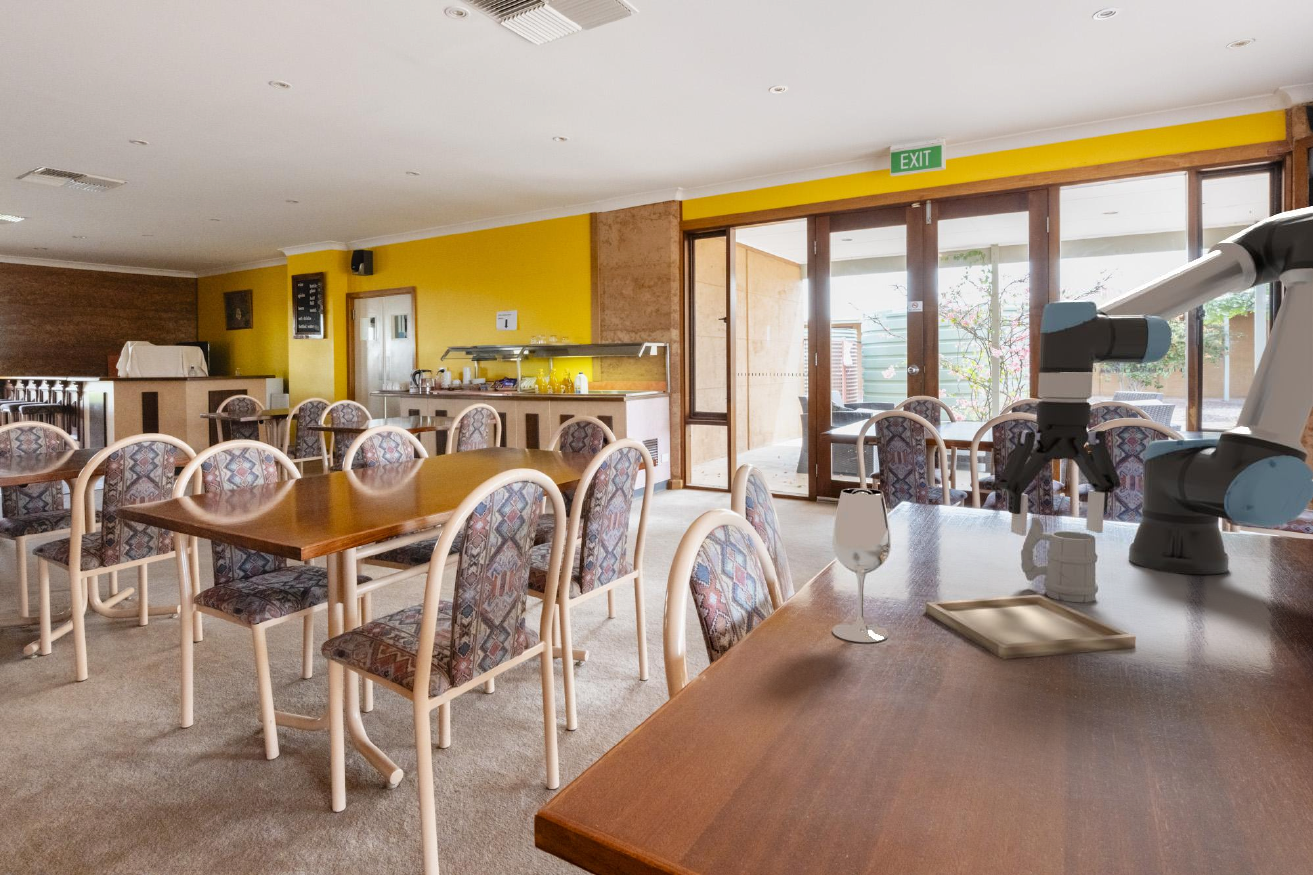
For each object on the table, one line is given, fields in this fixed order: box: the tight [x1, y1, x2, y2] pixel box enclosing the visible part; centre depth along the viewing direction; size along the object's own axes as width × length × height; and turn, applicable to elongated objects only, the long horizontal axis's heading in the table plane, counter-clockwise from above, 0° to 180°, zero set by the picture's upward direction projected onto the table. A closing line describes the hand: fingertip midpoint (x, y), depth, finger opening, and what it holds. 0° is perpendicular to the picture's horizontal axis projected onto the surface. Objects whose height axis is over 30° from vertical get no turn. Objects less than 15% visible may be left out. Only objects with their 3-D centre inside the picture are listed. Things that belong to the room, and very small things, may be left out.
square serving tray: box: [925, 594, 1137, 660], centre depth 109 cm, size 19×19×2 cm
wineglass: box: [831, 487, 892, 644], centre depth 107 cm, size 8×8×20 cm
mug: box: [1020, 515, 1099, 603], centre depth 125 cm, size 8×12×12 cm, turn 40°
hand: (1056, 532), depth 125 cm, fingers open, 13 cm apart
